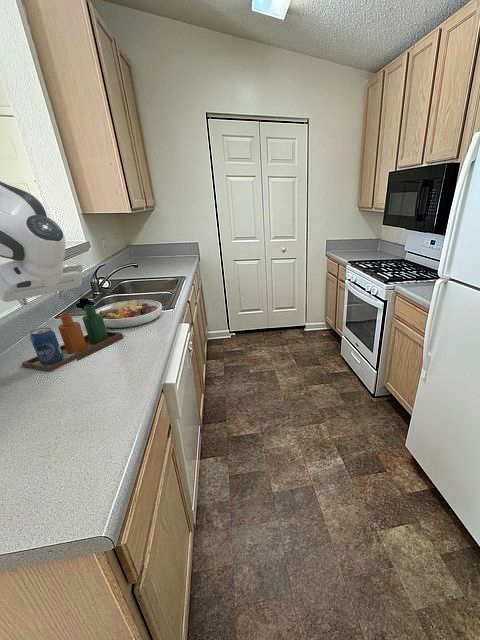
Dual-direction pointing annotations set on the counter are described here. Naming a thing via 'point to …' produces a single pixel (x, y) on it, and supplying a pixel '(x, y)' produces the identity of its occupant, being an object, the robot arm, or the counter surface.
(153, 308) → the bowl
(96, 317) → the green bottle
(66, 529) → the counter surface
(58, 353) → the soda can
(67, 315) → the amber bottle
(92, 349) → the tray
